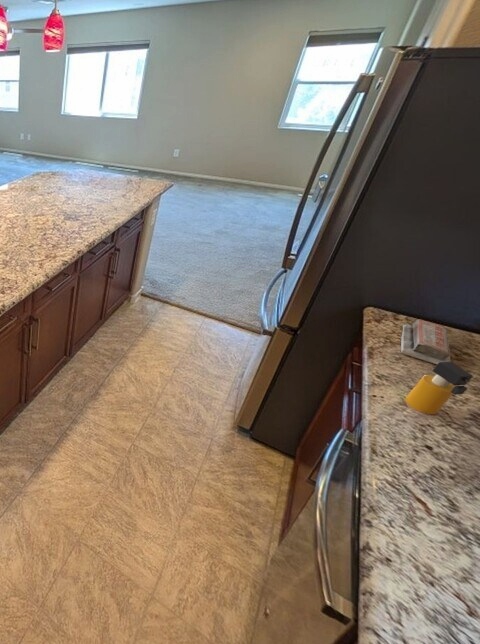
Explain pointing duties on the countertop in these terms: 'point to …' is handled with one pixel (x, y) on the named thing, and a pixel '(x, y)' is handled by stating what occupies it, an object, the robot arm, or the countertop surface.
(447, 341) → the packaged product
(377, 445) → the countertop surface
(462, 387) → the trigger
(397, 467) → the countertop surface
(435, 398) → the spray bottle
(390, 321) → the countertop surface
